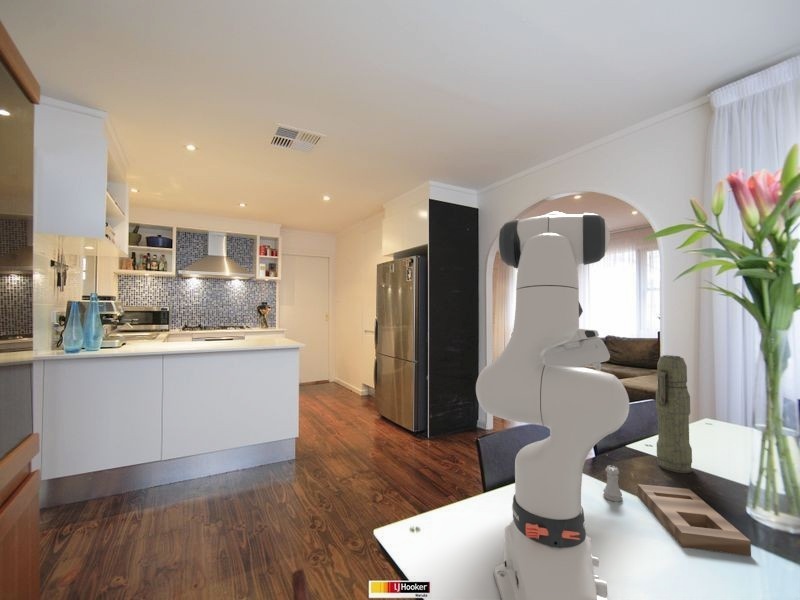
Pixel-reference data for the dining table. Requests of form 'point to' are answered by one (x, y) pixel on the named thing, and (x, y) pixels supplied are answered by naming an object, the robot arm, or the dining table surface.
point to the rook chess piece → (612, 485)
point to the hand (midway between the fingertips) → (583, 382)
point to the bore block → (693, 520)
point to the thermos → (673, 415)
